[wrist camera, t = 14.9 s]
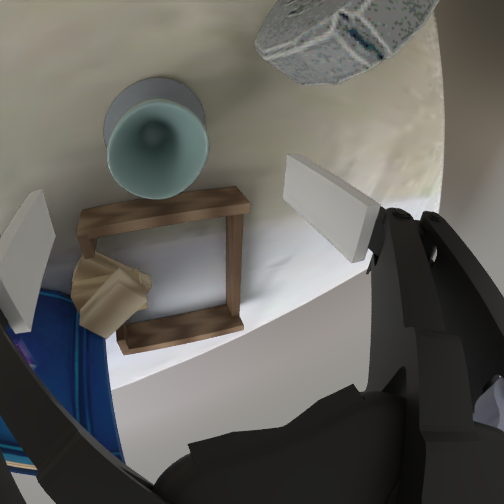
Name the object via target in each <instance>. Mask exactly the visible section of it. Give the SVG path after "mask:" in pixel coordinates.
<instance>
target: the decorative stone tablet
mask: <svg viewBox="0 0 504 504" xmlns="http://www.w3.org/2000/svg"><path fill="white" fill-rule="evenodd" d="M438 2H439V0H278V1H277V3H276V4H275V5H274V7H273V9H272V10H271V12H270V13H269V15H268V16H267V18H266V19H265V21H264V23H263V25H262V27H261V30H260V32H259V34H258V36H257V38H256V40H255V43H254V45H255V50H256V51H257V52H258V53H259V54H260V55H261V56H262V58H263V59H264V60H265V61H267V62H268V63H270V64H271V65H273V66H274V67H276V68H277V69H278V70H280V71H281V72H283V73H284V74H286V75H287V76H288V77H290V78H291V79H293V80H294V81H295V82H297V83H298V84H299V85H301V86H312V85H334V84H341V83H343V82H345V81H346V80H348V79H350V78H352V77H354V76H357V75H359V74H362V73H364V72H367V71H369V70H371V69H373V68H374V67H375V66H377V65H378V64H379V63H381V62H382V61H383V60H386V59H388V58H391V57H393V56H394V55H395V54H396V53H397V52H398V51H399V50H400V49H401V48H402V47H403V46H404V45H405V44H406V43H407V42H408V41H409V40H410V39H411V38H412V37H413V36H414V35H415V34H416V33H417V32H418V31H419V30H420V29H421V28H422V27H423V26H424V24H425V23H426V21H427V19H428V18H429V16H430V15H431V13H432V12H433V10H434V8H435V7H436V5H437V4H438Z"/></svg>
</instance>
